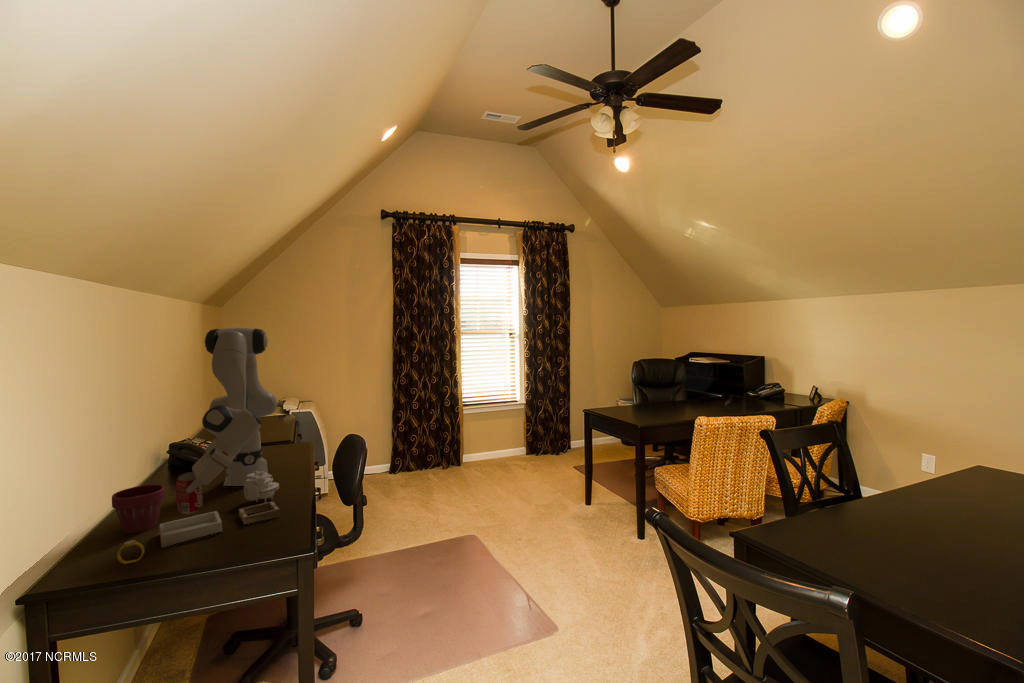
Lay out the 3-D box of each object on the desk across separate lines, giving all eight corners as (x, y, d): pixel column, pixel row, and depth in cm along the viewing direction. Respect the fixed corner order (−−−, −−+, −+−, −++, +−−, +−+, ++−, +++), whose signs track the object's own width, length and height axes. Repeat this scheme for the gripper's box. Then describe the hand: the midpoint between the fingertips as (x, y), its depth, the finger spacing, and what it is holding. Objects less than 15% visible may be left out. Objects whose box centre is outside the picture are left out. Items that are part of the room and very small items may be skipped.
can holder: (239, 515, 166) (238, 509, 166) (273, 507, 173) (272, 501, 173) (244, 525, 158) (244, 518, 158) (279, 516, 164) (279, 509, 164)
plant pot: (174, 523, 162) (172, 486, 161) (125, 540, 149) (123, 500, 149) (154, 516, 169) (152, 481, 168) (105, 532, 156) (103, 494, 156)
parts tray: (160, 534, 153) (159, 524, 153) (217, 520, 163) (217, 510, 163) (161, 548, 143) (160, 536, 142) (222, 532, 152) (221, 521, 152)
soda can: (202, 502, 159) (200, 469, 157) (203, 512, 154) (202, 478, 151) (176, 507, 155) (175, 473, 153) (177, 517, 149) (175, 483, 147)
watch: (117, 567, 132) (114, 547, 131) (120, 563, 134) (117, 543, 134) (143, 560, 134) (140, 540, 134) (146, 556, 137) (143, 537, 137)
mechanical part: (285, 498, 183) (283, 468, 183) (254, 508, 173) (252, 476, 173) (269, 493, 189) (268, 464, 189) (239, 503, 179) (237, 472, 179)
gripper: (208, 443, 164) (176, 476, 159) (215, 453, 148) (179, 491, 142) (224, 453, 167) (192, 486, 161) (232, 464, 151) (197, 502, 145)
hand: (186, 489), depth 152 cm, fingers closed on soda can, 6 cm apart
